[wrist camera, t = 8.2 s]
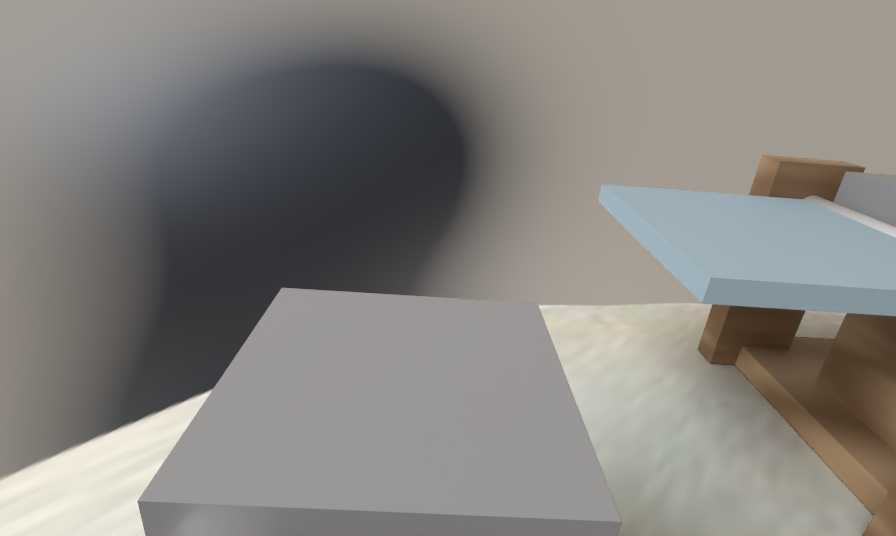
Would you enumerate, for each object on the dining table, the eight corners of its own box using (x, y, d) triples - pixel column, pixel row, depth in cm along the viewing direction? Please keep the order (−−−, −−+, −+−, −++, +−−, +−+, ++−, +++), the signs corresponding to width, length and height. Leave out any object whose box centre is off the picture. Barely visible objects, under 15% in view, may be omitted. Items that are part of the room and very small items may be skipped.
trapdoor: (591, 231, 24) (608, 150, 22) (900, 253, 24) (937, 176, 23) (689, 351, 14) (729, 226, 13) (1185, 381, 15) (1280, 266, 13)
